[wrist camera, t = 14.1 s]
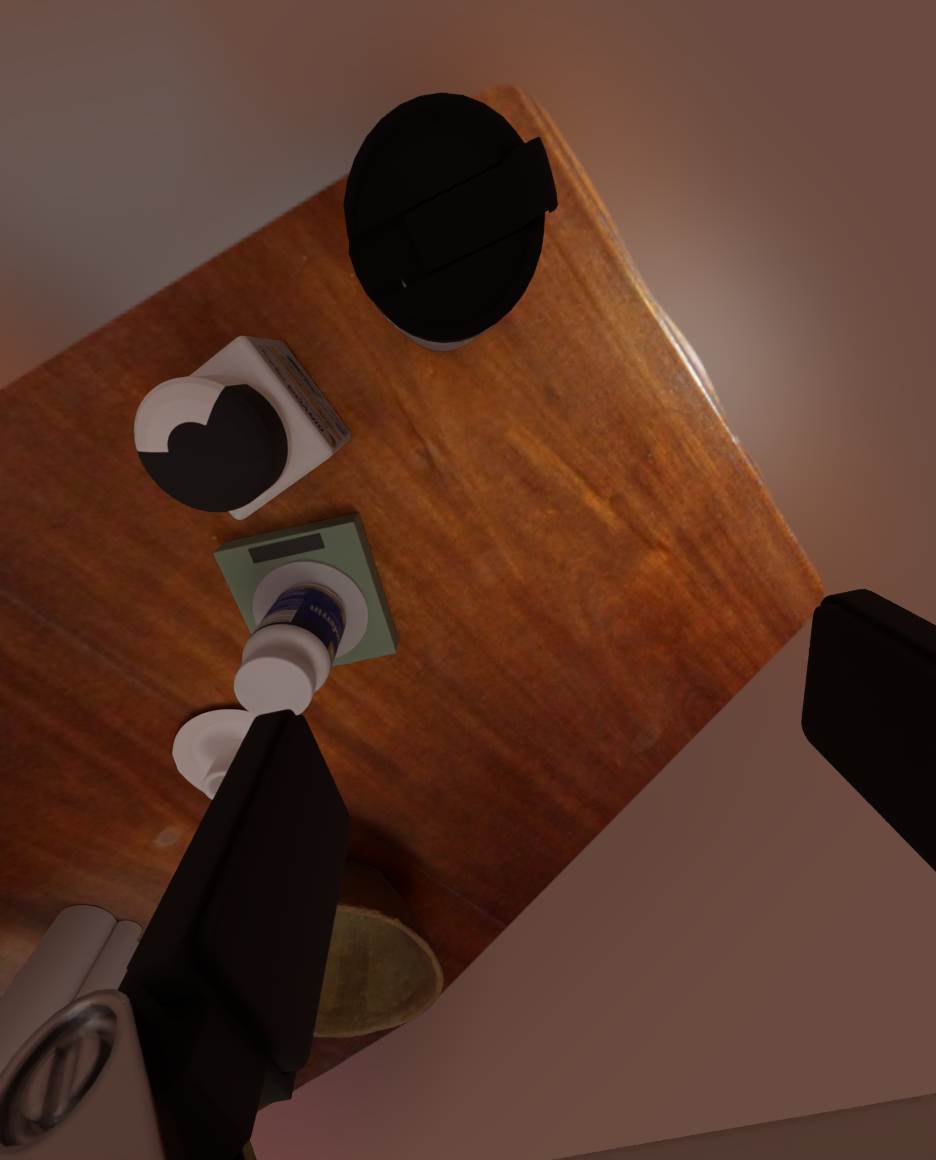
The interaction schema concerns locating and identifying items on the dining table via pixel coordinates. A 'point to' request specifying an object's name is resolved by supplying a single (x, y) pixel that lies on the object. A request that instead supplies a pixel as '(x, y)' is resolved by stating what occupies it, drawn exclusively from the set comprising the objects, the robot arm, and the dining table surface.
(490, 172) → the travel mug
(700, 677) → the dining table surface
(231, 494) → the container
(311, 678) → the pill bottle
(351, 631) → the scale
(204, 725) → the candle holder
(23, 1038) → the vase
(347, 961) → the bowl
